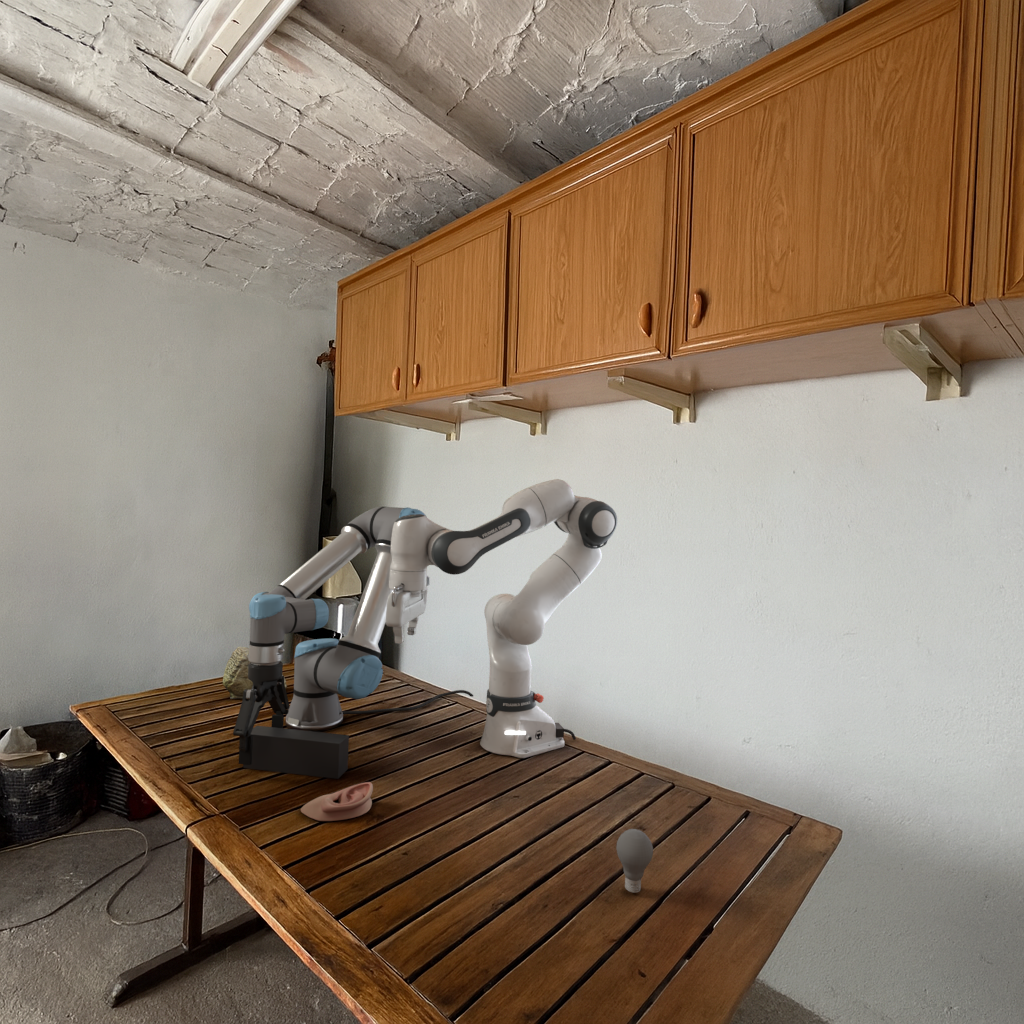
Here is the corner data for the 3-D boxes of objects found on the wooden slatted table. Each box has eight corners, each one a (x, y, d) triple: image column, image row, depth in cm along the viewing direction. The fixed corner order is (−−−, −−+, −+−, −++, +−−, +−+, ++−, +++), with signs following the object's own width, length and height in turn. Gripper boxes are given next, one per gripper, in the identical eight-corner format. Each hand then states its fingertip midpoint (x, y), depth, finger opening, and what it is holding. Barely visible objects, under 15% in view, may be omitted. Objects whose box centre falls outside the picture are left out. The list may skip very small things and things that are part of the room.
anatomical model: (293, 796, 125) (321, 772, 136) (292, 816, 125) (321, 791, 136) (355, 806, 122) (379, 781, 133) (354, 826, 122) (379, 799, 133)
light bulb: (610, 879, 108) (613, 822, 108) (644, 879, 109) (647, 822, 109) (619, 902, 102) (622, 840, 102) (655, 901, 103) (658, 840, 103)
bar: (243, 768, 146) (244, 733, 146) (255, 758, 151) (257, 725, 151) (338, 779, 142) (339, 743, 142) (347, 769, 148) (349, 735, 148)
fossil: (218, 695, 195) (220, 647, 195) (278, 685, 208) (279, 640, 207) (228, 703, 189) (230, 653, 188) (289, 692, 201) (290, 645, 201)
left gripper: (250, 677, 135) (246, 776, 135) (306, 651, 159) (302, 735, 160) (218, 673, 136) (213, 772, 136) (278, 648, 161) (274, 732, 161)
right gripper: (406, 588, 142) (404, 649, 142) (432, 577, 162) (429, 631, 162) (380, 586, 143) (377, 647, 143) (408, 576, 163) (406, 629, 163)
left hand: (261, 752), depth 148 cm, fingers open, 13 cm apart
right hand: (405, 638), depth 153 cm, fingers open, 8 cm apart
